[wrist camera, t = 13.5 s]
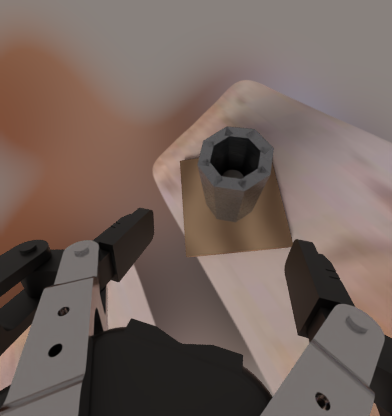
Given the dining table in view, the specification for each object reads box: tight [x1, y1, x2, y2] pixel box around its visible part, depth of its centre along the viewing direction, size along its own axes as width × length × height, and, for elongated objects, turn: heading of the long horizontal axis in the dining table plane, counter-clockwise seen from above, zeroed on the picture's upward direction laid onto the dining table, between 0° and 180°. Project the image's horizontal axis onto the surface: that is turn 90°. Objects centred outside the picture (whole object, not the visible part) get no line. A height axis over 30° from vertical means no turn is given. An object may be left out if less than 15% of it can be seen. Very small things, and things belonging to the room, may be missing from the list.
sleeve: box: [197, 127, 274, 222], centre depth 21 cm, size 6×6×10 cm
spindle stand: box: [180, 158, 293, 257], centre depth 23 cm, size 13×14×7 cm
